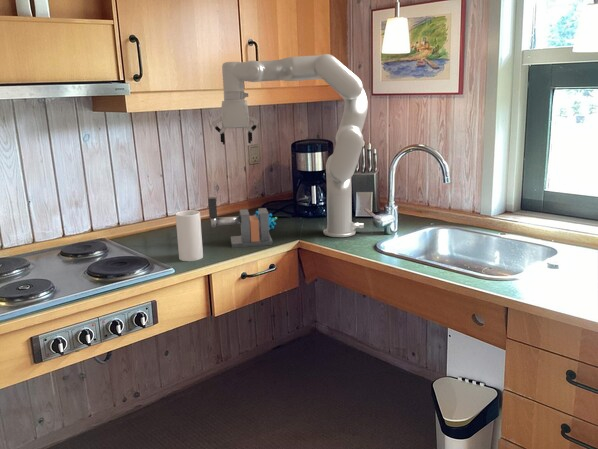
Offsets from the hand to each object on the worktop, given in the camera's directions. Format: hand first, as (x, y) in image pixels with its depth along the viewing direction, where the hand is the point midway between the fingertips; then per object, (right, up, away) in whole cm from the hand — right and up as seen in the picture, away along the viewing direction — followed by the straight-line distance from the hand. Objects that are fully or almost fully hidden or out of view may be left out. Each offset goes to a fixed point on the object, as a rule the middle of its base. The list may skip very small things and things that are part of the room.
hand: (236, 143), depth 207 cm
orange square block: (+6, -32, 0) cm, 32 cm away
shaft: (-3, -31, -2) cm, 31 cm away
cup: (-14, -42, -15) cm, 47 cm away
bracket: (+5, -37, +1) cm, 38 cm away
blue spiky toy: (+10, -32, +20) cm, 39 cm away
